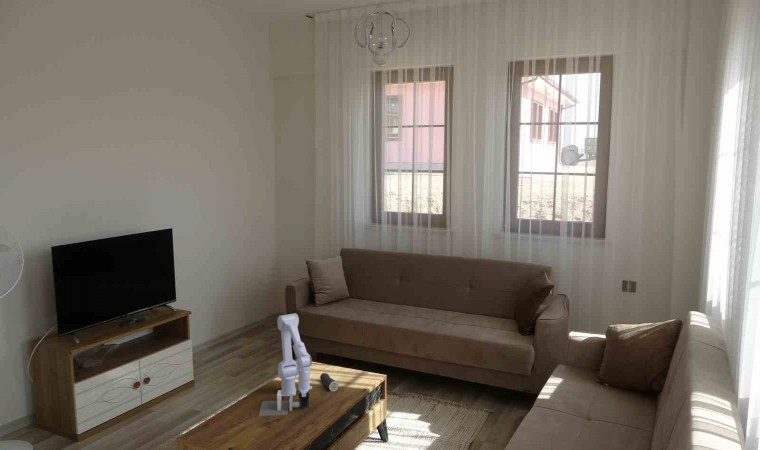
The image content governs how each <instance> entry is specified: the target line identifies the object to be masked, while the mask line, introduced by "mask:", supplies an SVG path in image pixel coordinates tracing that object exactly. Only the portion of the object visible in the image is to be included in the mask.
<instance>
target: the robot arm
mask: <svg viewBox="0 0 760 450" xmlns="http://www.w3.org/2000/svg"><path fill="white" fill-rule="evenodd" d="M299 323H300V319H299V315H298V314H297V313H295V312H294V313H290V314H283V315H278V318H277V329H278V330H279V331H280V335H281V349H282V351H281V352H282V360H281V361H280V362H279V363H278V365H277V366H278V367H277V368H278V369H277V375H278V377H279V378H280V380H281V389H280V390H281V397H286V396H287V397H290V394H293V396H296V395H297V389H298V391H299V393H298V399H299V398H300V400H301V405H302V407H306V406H307V400H308V398H309V399H310V395H311V394H310V393H309V392H310V390H312V389H313V386H312V385H311V377H310V376H311V375H310V374H311V373H310V372H311V371H310V366H312V365H313V360H312V356H311V355H310V354H309V353H308V352H307V351H308V350H307V349H306V346H305V343H304V342H303V341H302V340H301V336H300V333H299V328H298V327H299ZM292 341H293V345H292ZM292 348H293V350H292ZM293 351H294V355H295V357H296V359H295V360H294V359H293ZM297 376H298V377H297ZM296 378H297V379H298V381H297V383H298V386H297V387H296Z"/></svg>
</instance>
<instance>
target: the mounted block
mask: <svg viewBox="0 0 760 450" xmlns="http://www.w3.org/2000/svg"><path fill="white" fill-rule="evenodd" d="M293 397H294V395H293V394H290V396H289V412H293V408H299V409H309V408H310V397H309V398H308V400H307V406H306V407H302V405H301V400H300V398H299V397H298V400H299V401H294V398H293Z"/></svg>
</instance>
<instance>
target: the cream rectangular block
mask: <svg viewBox="0 0 760 450" xmlns="http://www.w3.org/2000/svg"><path fill="white" fill-rule="evenodd" d="M276 401H277V410H281V405H282V404H281V401H282V396H281V389H278V390H277V392H276Z"/></svg>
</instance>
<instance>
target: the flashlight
mask: <svg viewBox="0 0 760 450" xmlns="http://www.w3.org/2000/svg"><path fill="white" fill-rule="evenodd" d="M319 379H320V382H321V383H323V384H325V385H326V386H327V388H328V389H329V390H330V391H331V392H335V391H337V390H338V389H339V385H340V384H339V383H338V381H336V379H334V378H331V376H330V375H329V374H328V373H326V372H322V373H321V374H320V376H319Z"/></svg>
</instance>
